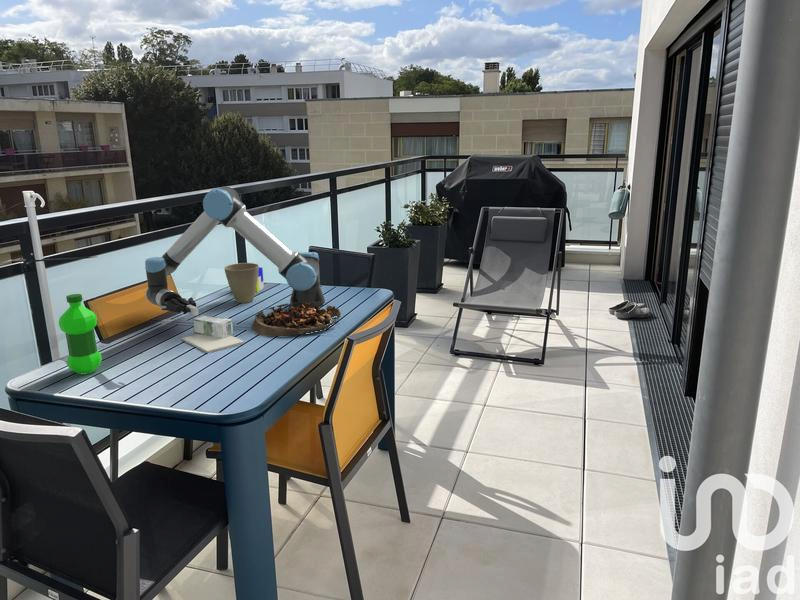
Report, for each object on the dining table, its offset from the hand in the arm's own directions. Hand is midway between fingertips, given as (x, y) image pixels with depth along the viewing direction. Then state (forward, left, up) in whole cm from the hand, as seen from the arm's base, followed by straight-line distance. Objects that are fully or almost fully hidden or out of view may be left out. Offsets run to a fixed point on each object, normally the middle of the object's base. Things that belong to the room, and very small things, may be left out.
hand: (196, 311), depth 225 cm
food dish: (-35, -10, -10) cm, 38 cm away
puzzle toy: (-7, -68, -9) cm, 69 cm away
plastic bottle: (+27, +34, -9) cm, 44 cm away
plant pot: (-8, -47, -9) cm, 49 cm away
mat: (-7, +8, -9) cm, 14 cm away
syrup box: (+1, -2, -5) cm, 6 cm away
